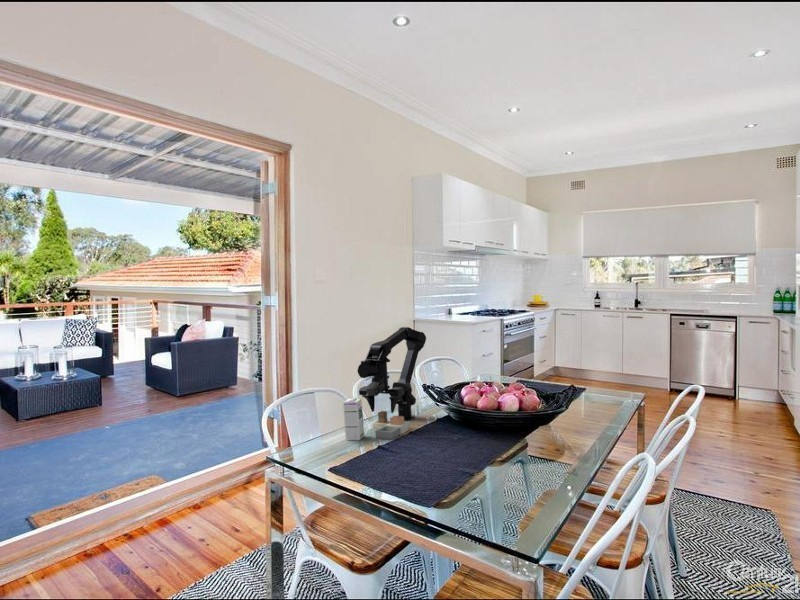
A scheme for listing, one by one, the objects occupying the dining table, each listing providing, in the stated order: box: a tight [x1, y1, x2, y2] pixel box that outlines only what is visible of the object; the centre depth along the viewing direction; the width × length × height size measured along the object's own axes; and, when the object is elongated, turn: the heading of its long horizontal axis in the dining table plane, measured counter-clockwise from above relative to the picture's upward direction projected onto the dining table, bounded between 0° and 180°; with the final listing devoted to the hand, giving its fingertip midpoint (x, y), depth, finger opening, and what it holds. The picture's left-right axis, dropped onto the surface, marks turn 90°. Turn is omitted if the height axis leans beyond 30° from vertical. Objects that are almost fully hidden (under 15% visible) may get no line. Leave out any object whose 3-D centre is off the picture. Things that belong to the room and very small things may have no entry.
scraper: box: [372, 410, 390, 429], centre depth 196 cm, size 6×6×6 cm
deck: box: [385, 421, 410, 435], centre depth 186 cm, size 7×7×3 cm
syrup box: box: [342, 397, 365, 441], centre depth 181 cm, size 6×6×14 cm
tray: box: [374, 426, 402, 441], centre depth 180 cm, size 7×7×3 cm
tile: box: [389, 415, 405, 425], centre depth 187 cm, size 4×4×2 cm
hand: (382, 412), depth 196 cm, fingers open, 9 cm apart
